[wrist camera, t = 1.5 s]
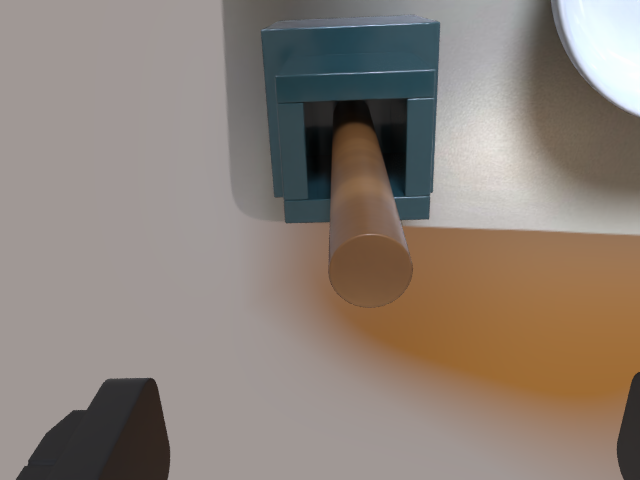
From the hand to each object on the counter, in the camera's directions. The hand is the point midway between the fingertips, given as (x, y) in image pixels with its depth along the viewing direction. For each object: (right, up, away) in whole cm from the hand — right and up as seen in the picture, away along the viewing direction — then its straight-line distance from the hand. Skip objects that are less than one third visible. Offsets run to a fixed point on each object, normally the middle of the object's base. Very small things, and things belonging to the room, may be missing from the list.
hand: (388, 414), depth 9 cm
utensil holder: (+1, +15, +33) cm, 36 cm away
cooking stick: (+1, +10, +23) cm, 25 cm away
